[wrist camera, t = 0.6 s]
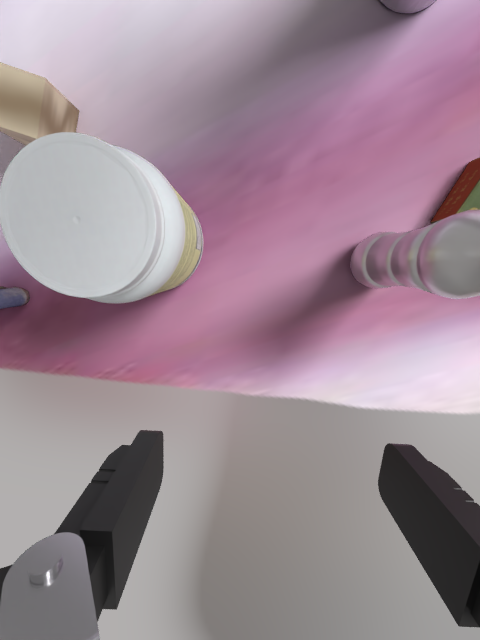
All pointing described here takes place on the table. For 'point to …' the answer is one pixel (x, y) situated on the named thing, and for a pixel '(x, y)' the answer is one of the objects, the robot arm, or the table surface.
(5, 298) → the flask
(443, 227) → the plastic bottle
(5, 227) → the supplement tub
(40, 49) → the table surface
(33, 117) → the beech cube
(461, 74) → the table surface
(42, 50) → the table surface
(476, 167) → the carton
